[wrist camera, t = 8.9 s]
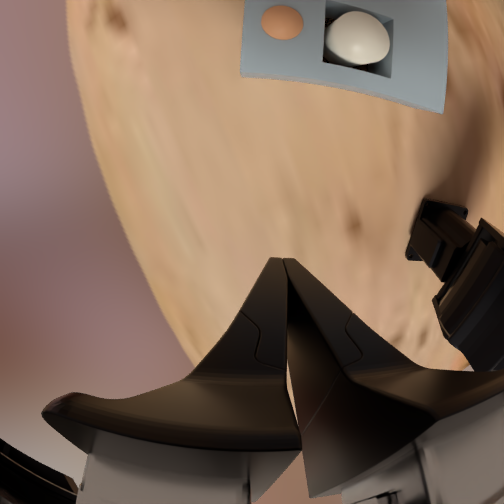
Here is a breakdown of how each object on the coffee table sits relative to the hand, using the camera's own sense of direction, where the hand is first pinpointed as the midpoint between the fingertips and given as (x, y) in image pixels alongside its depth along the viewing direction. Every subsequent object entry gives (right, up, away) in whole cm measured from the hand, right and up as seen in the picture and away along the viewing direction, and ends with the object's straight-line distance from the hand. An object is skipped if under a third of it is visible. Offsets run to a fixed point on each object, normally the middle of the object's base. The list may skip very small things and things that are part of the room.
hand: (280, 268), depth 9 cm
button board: (+6, +21, +2) cm, 22 cm away
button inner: (+6, +15, +5) cm, 17 cm away
